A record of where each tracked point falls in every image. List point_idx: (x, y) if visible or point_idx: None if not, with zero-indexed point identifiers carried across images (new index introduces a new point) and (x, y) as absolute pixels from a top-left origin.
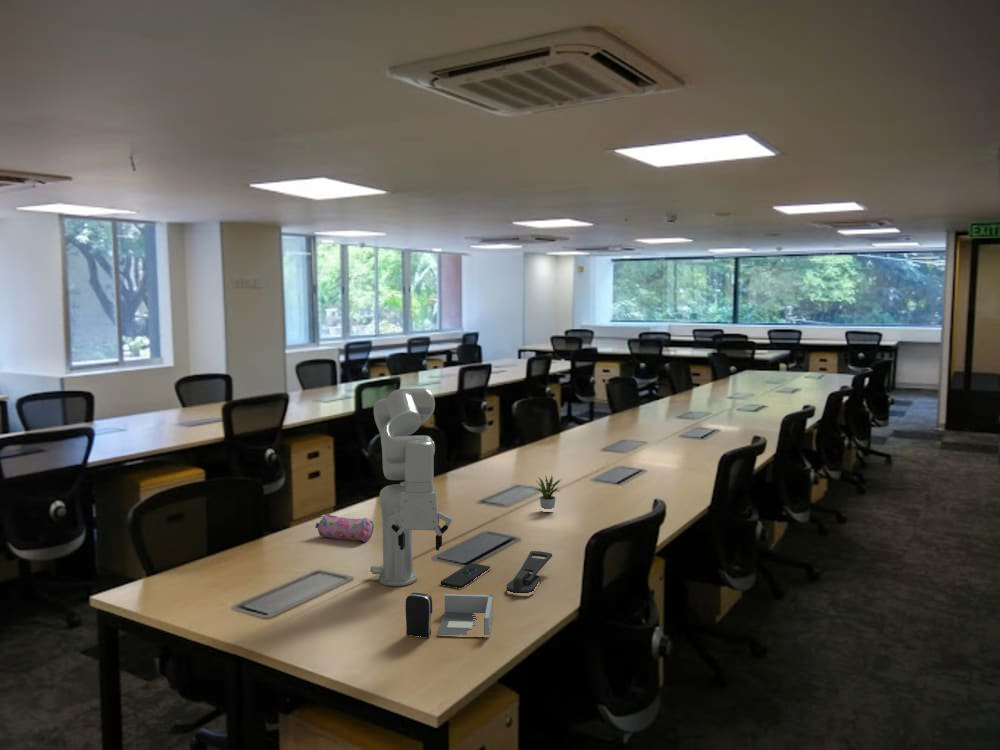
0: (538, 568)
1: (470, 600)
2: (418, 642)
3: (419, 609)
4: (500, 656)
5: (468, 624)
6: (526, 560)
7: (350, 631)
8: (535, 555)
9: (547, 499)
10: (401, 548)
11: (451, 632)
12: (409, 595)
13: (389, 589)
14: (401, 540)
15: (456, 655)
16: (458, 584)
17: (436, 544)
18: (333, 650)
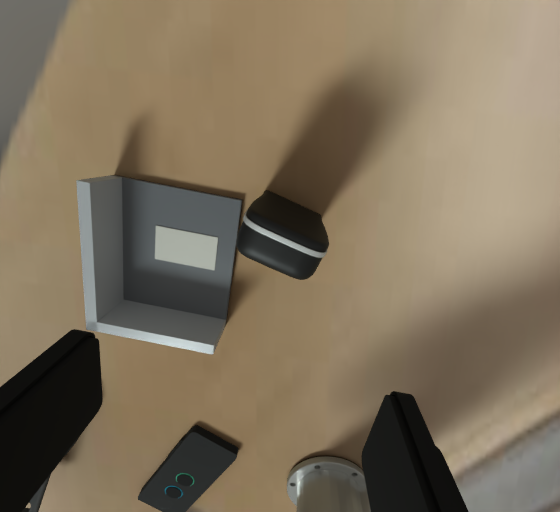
0: None
1: (150, 324)
2: (290, 172)
3: (282, 214)
4: (73, 58)
5: (165, 246)
6: (39, 491)
7: (461, 258)
8: (23, 509)
9: None
10: (404, 400)
11: (205, 208)
12: (315, 251)
13: (348, 446)
14: (436, 481)
15: (190, 78)
16: (198, 438)
17: (46, 368)
18: (523, 150)
